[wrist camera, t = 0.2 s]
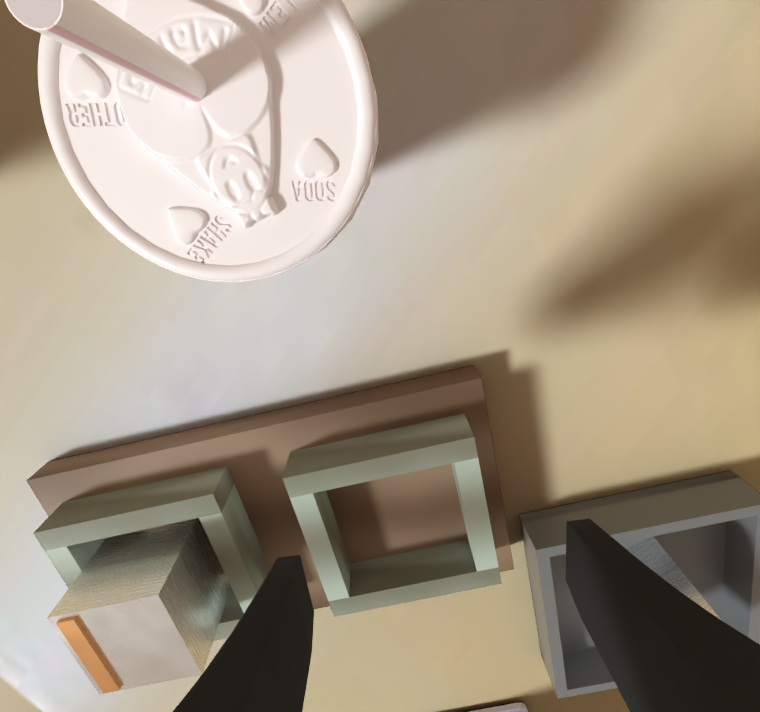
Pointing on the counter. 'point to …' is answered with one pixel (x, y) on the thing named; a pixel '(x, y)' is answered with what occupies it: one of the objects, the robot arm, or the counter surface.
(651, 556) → the block
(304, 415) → the double pocket tray
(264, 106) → the smoothie
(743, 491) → the gray square tray
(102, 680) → the billet
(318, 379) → the counter surface
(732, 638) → the robot arm
